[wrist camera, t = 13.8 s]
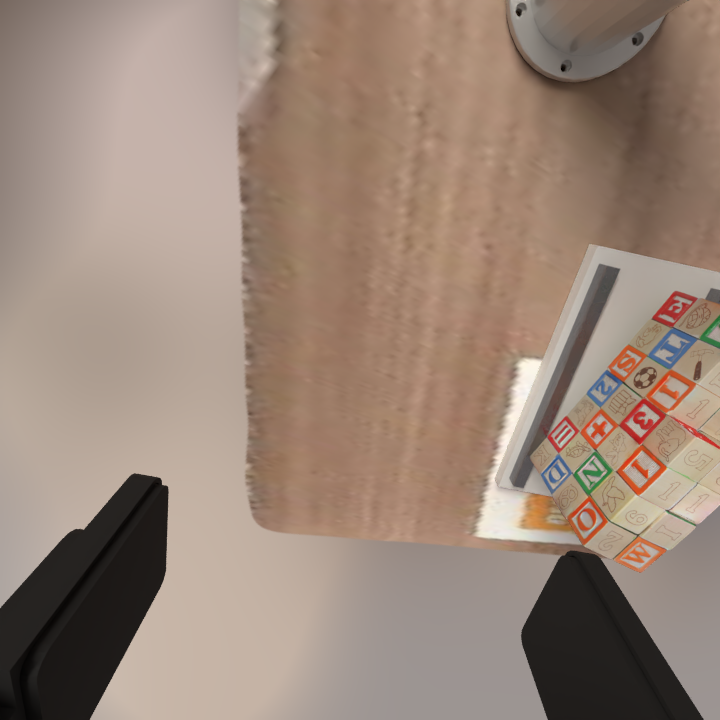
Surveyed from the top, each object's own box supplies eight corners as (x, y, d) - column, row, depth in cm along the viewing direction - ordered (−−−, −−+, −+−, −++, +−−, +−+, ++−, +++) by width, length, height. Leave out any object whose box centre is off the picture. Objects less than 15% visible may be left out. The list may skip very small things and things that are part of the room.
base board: (589, 243, 39) (606, 247, 36) (726, 273, 39) (753, 279, 37) (494, 478, 49) (502, 495, 46) (604, 498, 50) (618, 516, 47)
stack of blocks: (672, 287, 37) (808, 327, 26) (722, 319, 38) (874, 372, 27) (527, 458, 44) (583, 549, 33) (573, 481, 45) (642, 577, 34)
